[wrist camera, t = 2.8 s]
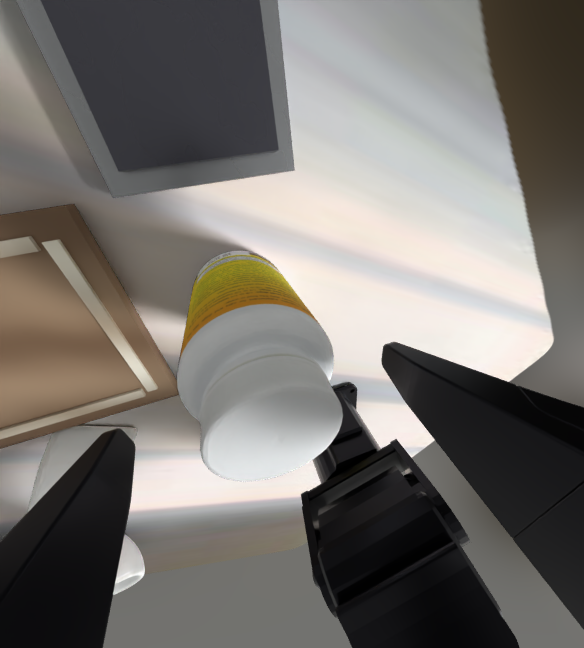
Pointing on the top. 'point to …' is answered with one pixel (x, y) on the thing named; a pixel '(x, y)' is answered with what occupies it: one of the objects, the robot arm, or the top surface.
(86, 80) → the pad
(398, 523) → the robot arm
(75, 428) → the spoon rest
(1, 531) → the top surface
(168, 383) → the brown flat square
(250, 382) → the supplement bottle
